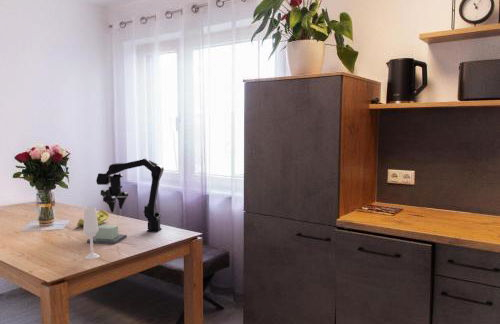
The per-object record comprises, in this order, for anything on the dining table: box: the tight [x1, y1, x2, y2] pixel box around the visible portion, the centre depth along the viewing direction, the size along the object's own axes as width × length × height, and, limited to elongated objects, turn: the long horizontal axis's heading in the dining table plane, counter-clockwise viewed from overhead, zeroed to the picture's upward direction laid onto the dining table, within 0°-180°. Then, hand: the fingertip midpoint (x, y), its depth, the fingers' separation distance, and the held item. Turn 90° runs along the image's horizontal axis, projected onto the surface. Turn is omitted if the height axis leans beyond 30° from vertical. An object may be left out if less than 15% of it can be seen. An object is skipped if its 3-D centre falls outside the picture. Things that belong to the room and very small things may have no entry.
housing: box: [95, 224, 119, 239], centre depth 212 cm, size 10×6×6 cm, turn 79°
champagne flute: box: [82, 205, 100, 260], centre depth 184 cm, size 7×7×24 cm
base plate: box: [86, 233, 128, 245], centre depth 212 cm, size 16×13×4 cm
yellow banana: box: [76, 209, 110, 228], centre depth 246 cm, size 20×7×10 cm
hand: (116, 210), depth 230 cm, fingers open, 9 cm apart
